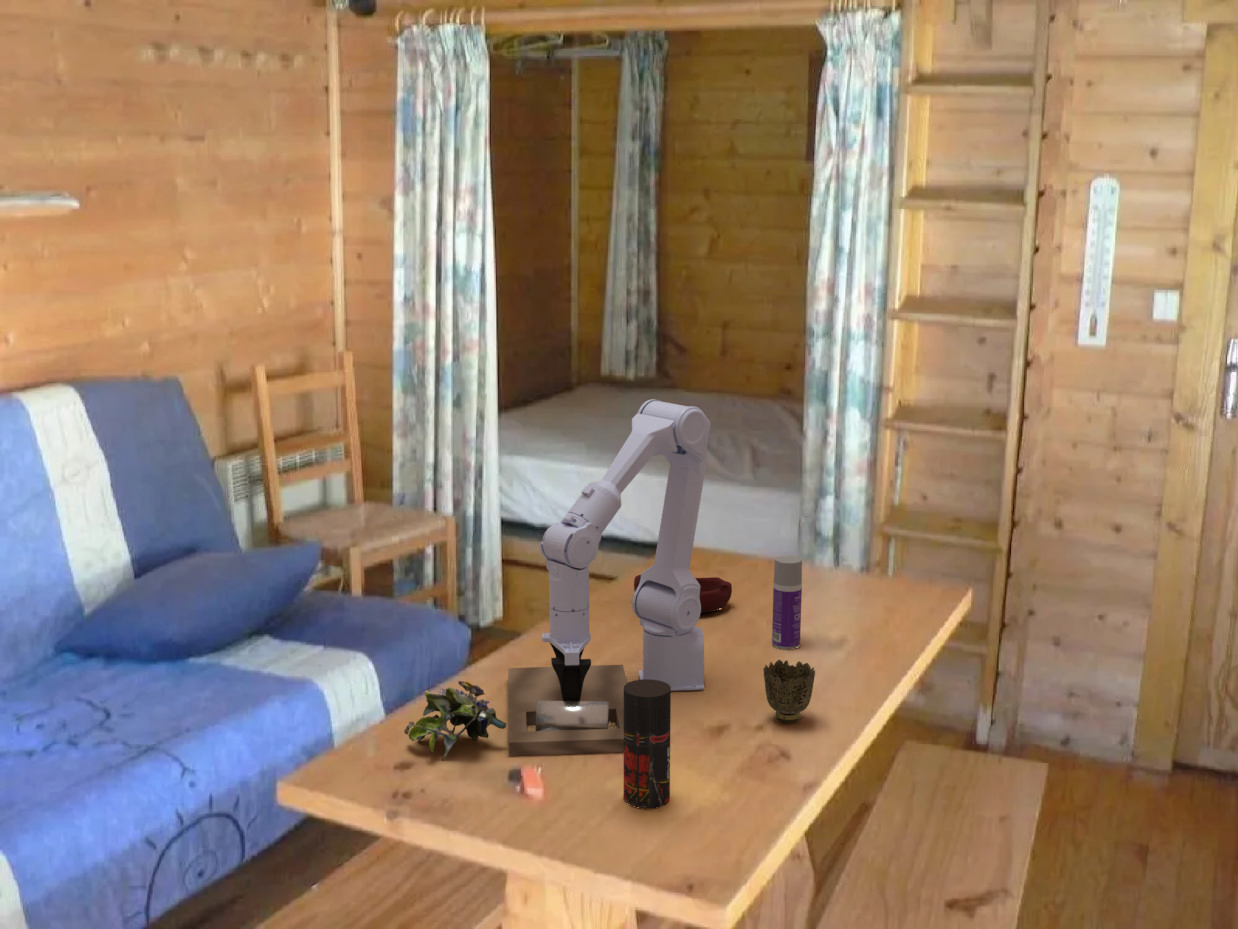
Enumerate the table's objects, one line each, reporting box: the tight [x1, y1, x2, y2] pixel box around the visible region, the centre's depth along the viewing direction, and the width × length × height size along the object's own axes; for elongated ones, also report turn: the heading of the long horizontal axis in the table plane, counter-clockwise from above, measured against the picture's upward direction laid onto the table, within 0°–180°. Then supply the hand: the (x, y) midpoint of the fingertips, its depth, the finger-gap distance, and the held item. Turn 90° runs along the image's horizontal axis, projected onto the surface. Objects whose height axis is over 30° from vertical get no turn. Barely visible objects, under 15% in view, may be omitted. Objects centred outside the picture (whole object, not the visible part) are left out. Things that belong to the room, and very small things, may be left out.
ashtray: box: [633, 574, 733, 614], centre depth 248 cm, size 18×16×5 cm
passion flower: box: [403, 680, 507, 761], centre depth 189 cm, size 11×11×12 cm
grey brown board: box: [507, 664, 628, 757], centre depth 202 cm, size 18×28×2 cm, turn 5°
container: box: [771, 555, 803, 650], centre depth 228 cm, size 5×5×15 cm
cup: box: [762, 659, 816, 725], centre depth 198 cm, size 8×7×8 cm
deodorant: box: [623, 679, 672, 809], centre depth 174 cm, size 6×6×15 cm
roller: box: [535, 701, 610, 731], centre depth 194 cm, size 10×5×5 cm, turn 88°
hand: (570, 694), depth 200 cm, fingers open, 7 cm apart
